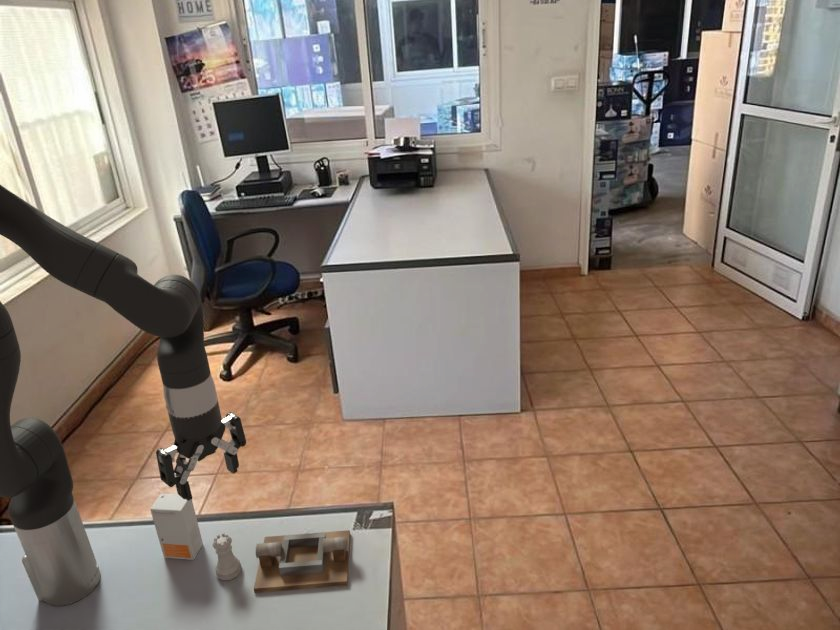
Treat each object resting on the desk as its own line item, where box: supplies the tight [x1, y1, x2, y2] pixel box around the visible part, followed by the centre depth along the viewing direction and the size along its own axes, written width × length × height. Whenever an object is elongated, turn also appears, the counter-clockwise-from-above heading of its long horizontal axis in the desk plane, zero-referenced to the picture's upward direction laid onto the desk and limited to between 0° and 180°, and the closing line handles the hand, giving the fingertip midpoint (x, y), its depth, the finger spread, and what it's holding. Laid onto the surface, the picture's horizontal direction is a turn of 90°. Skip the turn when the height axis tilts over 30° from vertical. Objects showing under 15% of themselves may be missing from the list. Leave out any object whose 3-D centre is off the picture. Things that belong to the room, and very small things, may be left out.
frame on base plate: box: [253, 529, 351, 594], centre depth 115 cm, size 16×12×5 cm
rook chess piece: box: [212, 532, 242, 581], centre depth 113 cm, size 4×4×8 cm
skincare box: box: [150, 493, 203, 561], centre depth 118 cm, size 6×4×12 cm
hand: (210, 484), depth 107 cm, fingers open, 8 cm apart
